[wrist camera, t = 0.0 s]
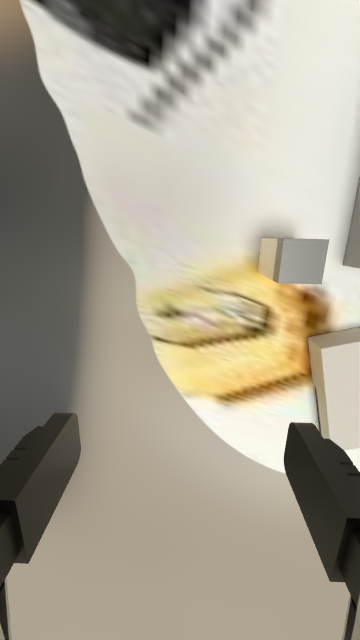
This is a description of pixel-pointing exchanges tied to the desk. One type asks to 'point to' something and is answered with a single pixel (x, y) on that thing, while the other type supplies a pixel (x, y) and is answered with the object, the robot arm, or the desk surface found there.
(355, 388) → the disc drive
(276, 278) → the block
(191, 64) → the desk surface
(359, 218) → the box
